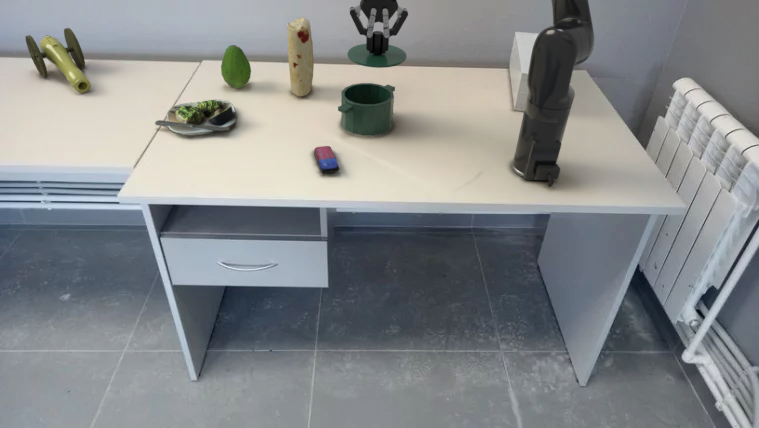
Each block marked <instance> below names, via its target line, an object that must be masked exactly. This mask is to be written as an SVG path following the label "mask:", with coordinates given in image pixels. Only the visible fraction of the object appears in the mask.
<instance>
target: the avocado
mask: <svg viewBox="0 0 759 428" xmlns="http://www.w3.org/2000/svg"><path fill="white" fill-rule="evenodd" d="M220 71H221V76H222V79H223V81H224V82H225V83H226V84H227V85H228V86H230V87H231V88H234V89H241V88H244V87H245V86H246V85H247V84H248V83H249V81H250V79H251V76H252V75H251V74H252V68H251V64H250V62H249V60H248V58H247V56H246V54H245V53H244V50H243V48H241V47H240V46H237V45H235V44H231V45H229V46H227V48H226V49H225V51H224V54H223V57H222V61H221V64H220Z"/></svg>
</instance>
